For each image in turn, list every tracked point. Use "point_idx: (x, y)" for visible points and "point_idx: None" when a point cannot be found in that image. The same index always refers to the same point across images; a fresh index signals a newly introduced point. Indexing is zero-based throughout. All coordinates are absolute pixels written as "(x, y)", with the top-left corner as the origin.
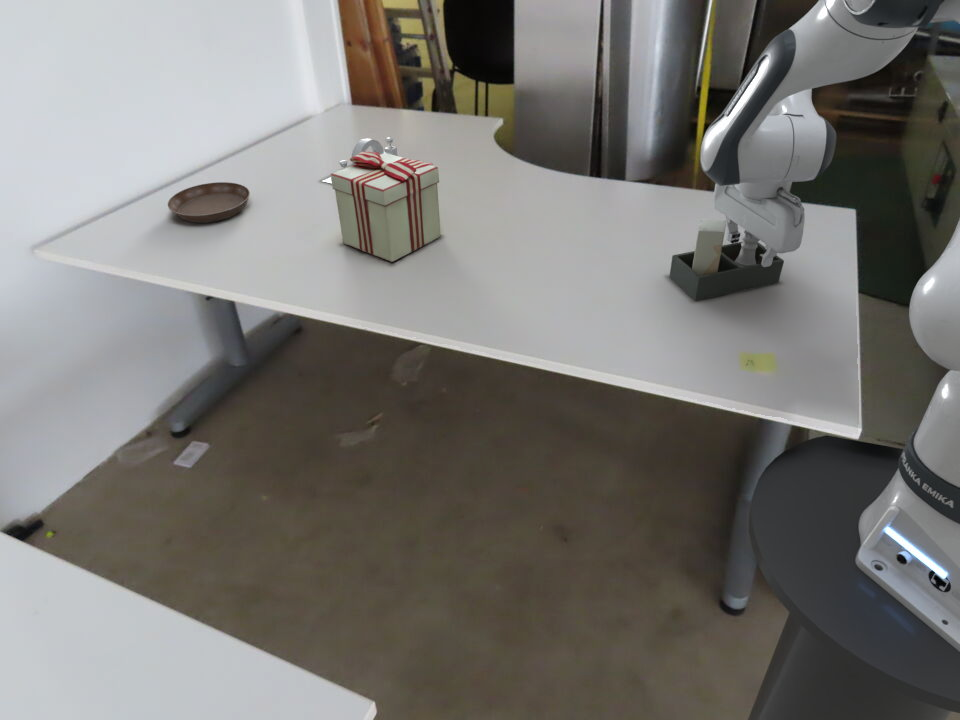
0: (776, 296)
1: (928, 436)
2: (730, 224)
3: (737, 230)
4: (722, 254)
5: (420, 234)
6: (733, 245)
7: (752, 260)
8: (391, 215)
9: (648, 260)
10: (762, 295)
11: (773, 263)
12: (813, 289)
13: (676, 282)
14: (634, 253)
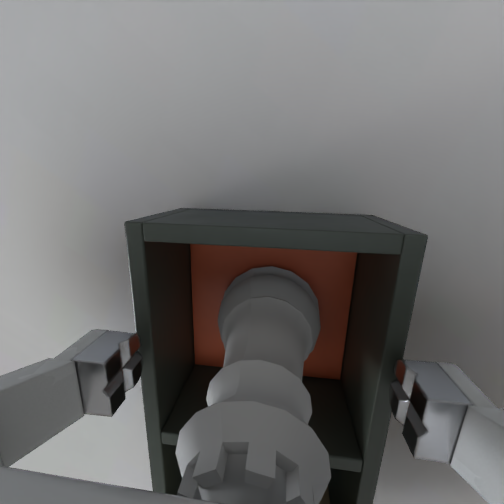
0: (446, 286)
1: None
2: (13, 441)
3: (69, 368)
4: None
5: None
6: (155, 355)
7: (303, 346)
8: None
9: (93, 459)
10: (412, 324)
11: (411, 305)
12: (499, 106)
13: None
14: (50, 464)
